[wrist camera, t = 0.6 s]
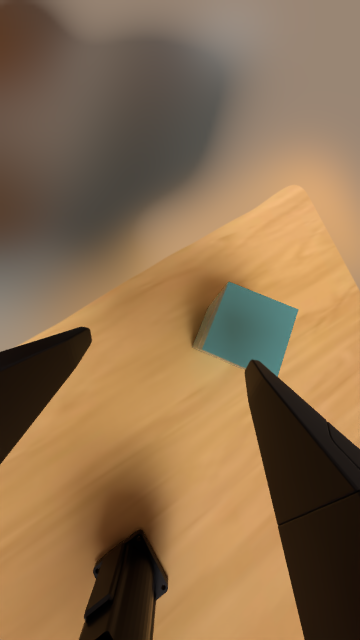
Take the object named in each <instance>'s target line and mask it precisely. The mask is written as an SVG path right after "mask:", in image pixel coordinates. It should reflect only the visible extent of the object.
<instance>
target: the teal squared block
mask: <svg viewBox="0 0 360 640" xmlns="http://www.w3.org/2000/svg"><path fill="white" fill-rule="evenodd" d="M297 312H298V309H296V308H293V307H291V306H288V305H286V304H283V303H281V302H278V301H276V300H273V299H271V298H268V297H266V296H263V295H261V294H258V293H256V292H253V291H251V290H249V289H246V288H244V287H241V286H239V285H236V284H234V283H231V282H228V283H227V284H226V286H225V287H224V288H223V289H222V291H221V292H220V293H219V294H218V296H217V297H216V298H215V299H214V301H213V302H212V303H211V304H210V306H209V307H208V309H207V312H206V314H205V317H204V319H203V321H202V324H201V326H200V329H199V331H198V334H197V336H196V339H195V341H194V344H193V346H192V348H194V349H197V350H199V351H201V352H204V353H206V354H208V355H211V356H213V357H215V358H218V359H220V360H222V361H225V362H227V363H229V364H232V365H234V366H237V367H239V368H242V369H244V370H245V369H246V367H247V365H248V363H249V362H250V360H252V359H253V360H258V361H260V362H261V363H262V364H264V365H265V366H266V367H267V368H268V369H269V370H270V371H271V372H273V373H274V374H275V375H276V376H277V377H278V374H279V371H280V367H281V364H282V361H283V358H284V354H285V351H286V348H287V345H288V341H289V338H290V335H291V332H292V328H293V325H294V322H295V319H296V315H297Z"/></svg>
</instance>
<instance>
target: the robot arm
mask: <svg viewBox="0 0 360 640" xmlns="http://www.w3.org/2000/svg"><path fill="white" fill-rule="evenodd" d="M91 342H92V339H91V332H90V329H89V328H86V327H79V328H75V329H72V330H69V331H66V332H63V333H59V334H56V335H53V336H50V337H47V338H43V339H40V340H37V341H34V342H31V343H27V344H24V345H21V346H18V347H15V348H11V349H9V350H5V351H2V352H0V464H1V463H2V462H3V460H4V459H5V458H6V457H7V455H8V454H9V453H10V451H11V450H12V449H13V448H14V446H15V445H16V444H17V442H18V441H19V440H20V439H21V437H22V436H23V435H24V433H25V432H26V431H27V430H28V428H29V427H30V426H31V425H32V423H33V422H34V421H35V419H36V418H37V417H38V416H39V414H40V413H41V412H42V410H43V409H44V408H45V407H46V405H47V404H48V403H49V401H50V400H51V399H52V398H53V396H54V395H55V394H56V392H57V391H58V390H59V389H60V387H61V386H62V385H63V383H64V382H65V381H66V380H67V378H68V377H69V376H70V375H71V373H72V372H73V371H74V369H75V368H76V367H77V365H78V364H79V362H80V360H81V359H82V357H83V356H84V354H85V352H86V351H87V349H88V348H89V346H90V344H91ZM245 380H246V388H247V396H248V402H249V407H250V411H251V415H252V419H253V423H254V428H255V432H256V436H257V440H258V445H259V449H260V453H261V457H262V461H263V466H264V470H265V474H266V478H267V482H268V487H269V491H270V495H271V499H272V503H273V508H274V512H275V516H276V520H277V524H278V529H279V534H280V538H281V542H282V546H283V550H284V555H285V559H286V563H287V567H288V571H289V576H290V580H291V584H292V588H293V593H294V597H295V601H296V605H297V609H298V614H299V618H300V622H301V626H302V630H303V635H304V639H305V640H360V449H359V448H358V447H357V446H355V445H354V444H353V443H352V442H351V441H350V440H348V439H347V438H346V437H345V436H344V435H343V434H341V433H340V432H339V431H338V430H337V429H336V428H335V427H334V426H332V425H331V424H330V423H329V422H327V421H326V419H324V418H323V417H322V416H321V415H320V414H319V413H318V412H317V411H315V410H314V409H313V408H312V407H311V406H310V405H309V404H308V403H306V402H305V401H304V400H303V399H302V398H301V397H300V396H299V395H297V394H296V393H295V392H294V391H293V390H292V389H291V388H290V387H288V386H287V385H286V384H285V383H284V382H283V381H282V380H280V379H279V378H278V377H277V376H276V375H275V374H274V373H273V372H271V371H270V370H269V369H268V368H267V367H266V366H265V365H264V364H262V363H261V362H260V361H258V360H253V359H252V360H250V362H249V363H248V365H247V367H246V369H245ZM138 536H140V537H138ZM98 568H99V569H98ZM93 573H94V576H95V578H96V582H95V584H94V587H93V590H92V593H91V596H90V599H89V602H88V604H87V607H86V610H85V614H84V619H85V623H84V626H83V629H82V632H81V635H80V638H79V640H153V630H154V618H155V606H156V600H157V599H158V598H160V597H161V596H162V595H163V594H164V593H166V592H167V590H168V579H167V577H166V575H165V573H164V572H163V570H162V568H161V566H160V564H159V562H158V560H157V558H156V556H155V554H154V552H153V550H152V548H151V546H150V544H149V542H148V540H147V538H146V536H145V534H144V532H143V531H142V530H138V531H137V532H135V533H134V534H133V535H131V536H130V537H129V538H127V539H126V540H125V541H123V542H122V543H120V544H119V545H118V546H116V547H115V548H114V549H112V550H111V551H110V552H109V553H107V554H106V555H105V556H104V557H103V558H101V559H100V560H99V561H97V563H96V564H95V567H94V569H93Z"/></svg>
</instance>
